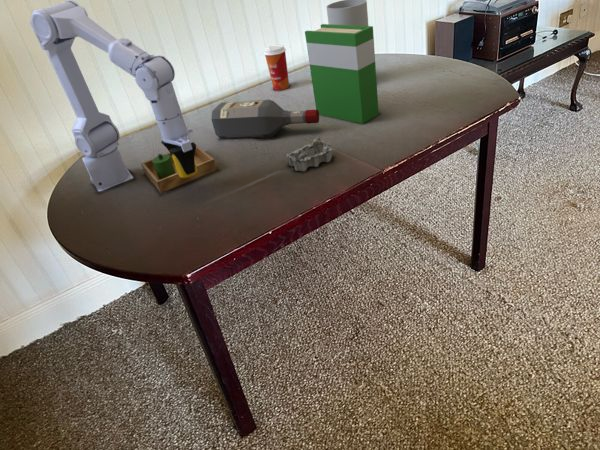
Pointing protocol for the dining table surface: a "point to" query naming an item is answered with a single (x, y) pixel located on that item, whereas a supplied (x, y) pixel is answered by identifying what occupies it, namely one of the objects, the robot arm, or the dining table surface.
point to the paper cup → (277, 66)
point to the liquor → (256, 118)
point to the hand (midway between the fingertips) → (187, 169)
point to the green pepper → (163, 166)
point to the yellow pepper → (180, 169)
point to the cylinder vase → (348, 13)
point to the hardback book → (343, 71)
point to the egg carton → (310, 155)
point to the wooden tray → (203, 166)
